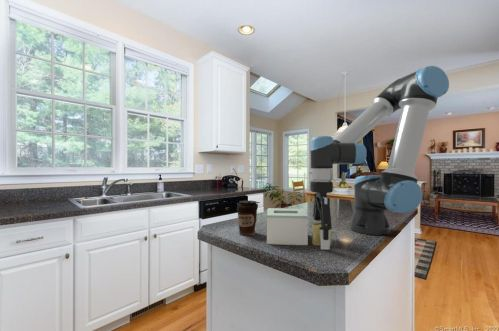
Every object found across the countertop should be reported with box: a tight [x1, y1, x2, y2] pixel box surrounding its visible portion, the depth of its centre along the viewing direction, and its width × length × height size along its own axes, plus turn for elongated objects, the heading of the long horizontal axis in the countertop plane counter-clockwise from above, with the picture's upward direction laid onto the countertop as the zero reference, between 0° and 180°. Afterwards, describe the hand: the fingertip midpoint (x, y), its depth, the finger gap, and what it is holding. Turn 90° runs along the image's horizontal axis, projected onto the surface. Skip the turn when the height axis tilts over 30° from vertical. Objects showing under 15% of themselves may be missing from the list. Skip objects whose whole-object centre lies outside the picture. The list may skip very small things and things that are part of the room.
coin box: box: [266, 207, 309, 246], centre depth 90 cm, size 14×14×10 cm
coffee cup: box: [236, 200, 259, 236], centre depth 96 cm, size 9×8×13 cm
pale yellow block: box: [311, 222, 332, 247], centre depth 84 cm, size 6×3×7 cm, turn 85°
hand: (321, 243), depth 84 cm, fingers open, 11 cm apart
